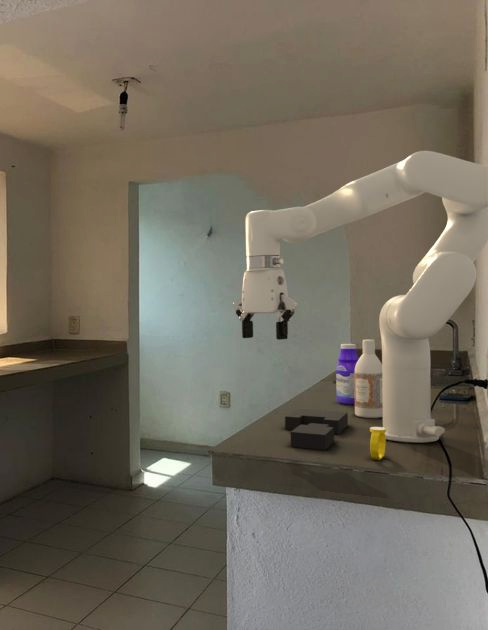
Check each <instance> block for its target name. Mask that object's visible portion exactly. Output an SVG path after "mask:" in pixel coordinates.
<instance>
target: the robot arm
mask: <svg viewBox="0 0 488 630" xmlns="http://www.w3.org/2000/svg"><path fill="white" fill-rule="evenodd" d="M425 193H428V194H430V195H433V196H436V197H439V198H441V201H442V205H443V207H444V209H445V212H446V215H447V222H446V226H445V228H444V230H443V231H442V233H441V234H440V236H439V237H438V239H437V240H436V241H435V243H434V244H433V246H431V248H430V249H429V250H428V251H427V253H426V254H425V256H424V257H423V258H422V259H421V260H420V261H419V263H418V264H417V265H416V266H415V268H414V271H413V274H412V283H413V285H412V286H411V288H410V289H409V290H408V292H407V293H406V294H399V295H396V296H393V297H392V298H390V299H388V300H387V301H386V302H385V303H384V304H383V305H382V307H381V310H380V313H379V320H378V325H379V334H380V342H381V364H382V393H383V417H382V427H383V428H385V429H386V432H385V438H386V441H387V440H388V441H394V442H400V443H415V444H417V443H432V442H437V441H439V439H440V437H441V436H442V434H444V433H445V431H446V429H445V427H443V426H439V425H436V419H434V418H432V408H431V407H432V406H431V404H432V403H431V402H432V401H431V400H432V399H431V398H432V396H431V395H432V394H431V392H432V390H431V389H432V388H431V386H432V385H431V366H432V365H431V360H432V359H431V347H430V346H431V345H430V341H429V338H432V337H433V336H435V335H437V333H438V332H440V331H441V329H442V328H444V326H446V324H447V322H448V321H450V318H451V317H452V316H453V315H454V314H455V312H456V311H457V310H458V309H459V307H460V306H461V304H462V303H463V302H464V301H465V299H467V297H468V296H469V294H470V293H471V291H472V290H473V288H474V285H475V284H476V280H477V268H476V265H475V263H474V262H475V261H476V260H477V258H478V257H479V255H480V254H481V252H482V251H483V249H484V248H485V247H486V245H487V243H488V166H486V165H483V164H479V163H476V162H473V161H468V160H466V159H465V160H464V159H461V158H458V157H455V156H452V155H448V154H444V153H441V152H437V151H433V150H420V151H416V152H413V153H412V154H410V155H408V157H406V158H405V159H403V160H400V161H397V162H396V163H393V164H391V165H388V166H386V167H385V168H382V169H379V170H377V171H375V172H372V173H370V174H367V175H364V176H363V177H360V178H357V179H354V180H352V181H350V182H349V183H346V184H345V185H343V186H341V187H340V188H339V189H337V190H335V191H334V192H333V193H331V194H329V195H327V196H325V197H323V198H321V199H319V200H317V201H315V202H312V203H310V204H308V205H305V206H295V207H294V206H293V207H289V208H282V209H277V210H276V209H275V210H273V209H260V210H254V211H253V210H252V211H250V212H248V213H247V214H246V216H245V219H244V221H245V224H244V225H245V271H244V274H243V279H242V288H241V297H240V298H238V299H236V300H235V301H234V302H233V303H232V307H233V309H234V310H235V314H236V315H237V317H238V319H239V321H240V322H241V336H242V339H251V338H254V322H253V321H254V320H252V318H253V317H254V316H255V314H273V315H274V317H275V318H276V319H277V321H276V323H275V338H276V340H279V341H280V340H288V338H289V337H288V334H289V324H288V322H290V321H291V318H292V317H293V316H294V315H295V310H297V309H296V308H297V306H298V301H296V300H294V299H293V298H291V297H289V294H288V284H287V279H286V275H285V271H284V269H281V265H283V264H284V261H285V260H284V258H283V257H281V246H280V245H281V243H280V242H281V240H283V241H284V242H287V243H289V244H299V243H302V242H304V241H306V240H309V239H311V238H314V237H315V236H319V235H321V234H323V233H326V232H329V231H331V230H333V229H336V228H338V227H341V226H344V225H347V224H350V223H354V222H357V221H360V220H362V219H364V218H367V217H369V216H372V215H374V214H377V213H380V212H381V211H385V210H386V209H390V208H391V207H395V206H397V205H399V204H401V203H404V202H406V201H409V200H412V199H414V198H417V197H419V196H421V195H423V194H425Z"/></svg>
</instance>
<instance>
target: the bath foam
mask: <svg viewBox="0 0 488 630" xmlns="http://www.w3.org/2000/svg"><path fill="white" fill-rule="evenodd" d="M358 358H359V360H358V361H357V363H356V366H355V372H354V374H355V404H354V414H355V416H357V417H359V418H363V419H364V418H365V419H380V418H383V393H382V361H381V360H380V359H379V357H378V356H377V355H376V341H375V339H362V354H361V355H360V356H359V357H358Z"/></svg>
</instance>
